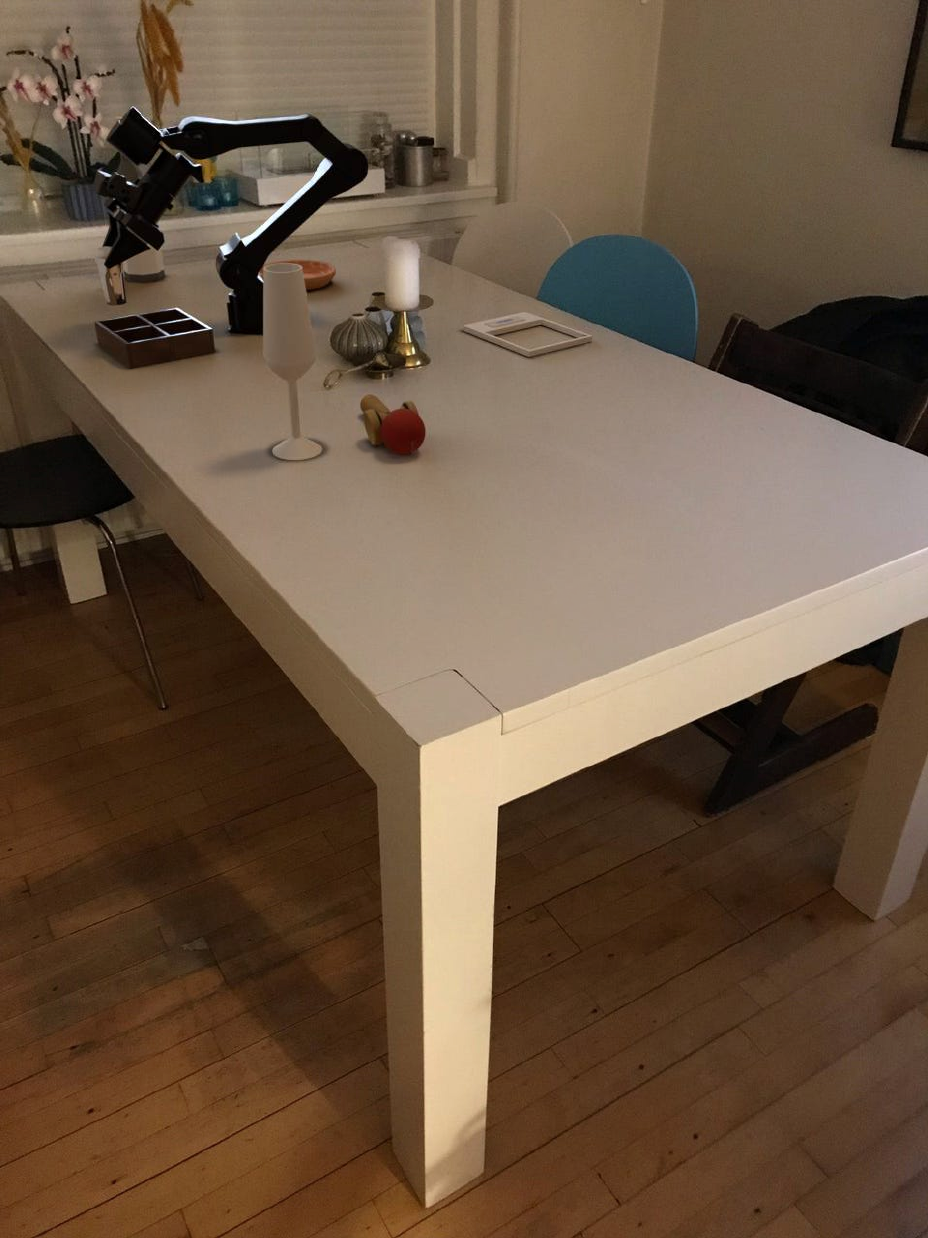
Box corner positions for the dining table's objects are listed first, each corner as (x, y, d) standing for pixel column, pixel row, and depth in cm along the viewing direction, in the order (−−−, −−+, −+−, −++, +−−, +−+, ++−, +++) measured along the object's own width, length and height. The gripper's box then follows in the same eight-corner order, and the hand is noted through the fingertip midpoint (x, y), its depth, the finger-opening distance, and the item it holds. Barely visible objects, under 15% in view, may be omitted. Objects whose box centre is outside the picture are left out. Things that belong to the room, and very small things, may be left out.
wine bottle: (173, 276, 215) (151, 116, 199) (144, 284, 209) (119, 121, 193) (145, 270, 218) (122, 113, 202) (116, 278, 212) (89, 117, 196)
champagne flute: (267, 443, 141) (250, 263, 128) (315, 437, 143) (303, 259, 130) (277, 462, 136) (261, 276, 123) (327, 456, 138) (316, 272, 125)
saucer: (252, 276, 216) (251, 261, 214) (328, 271, 220) (327, 256, 218) (263, 296, 203) (262, 281, 201) (343, 290, 207) (343, 275, 205)
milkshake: (139, 303, 174) (129, 241, 169) (108, 308, 171) (96, 245, 166) (130, 297, 177) (119, 236, 172) (99, 302, 175) (87, 240, 169)
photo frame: (525, 310, 192) (592, 334, 180) (524, 316, 193) (592, 341, 181) (463, 324, 184) (529, 350, 173) (463, 330, 185) (529, 356, 173)
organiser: (180, 330, 184) (177, 307, 182) (215, 352, 174) (212, 328, 172) (98, 344, 176) (94, 321, 174) (129, 368, 166) (125, 344, 164)
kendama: (340, 427, 150) (379, 457, 135) (344, 383, 148) (383, 409, 132) (390, 429, 153) (434, 459, 138) (395, 386, 151) (439, 412, 135)
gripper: (106, 142, 170) (51, 219, 172) (130, 159, 156) (70, 243, 158) (162, 189, 177) (108, 262, 179) (189, 209, 163) (131, 289, 165)
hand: (103, 263), depth 170 cm, fingers closed on milkshake, 4 cm apart
